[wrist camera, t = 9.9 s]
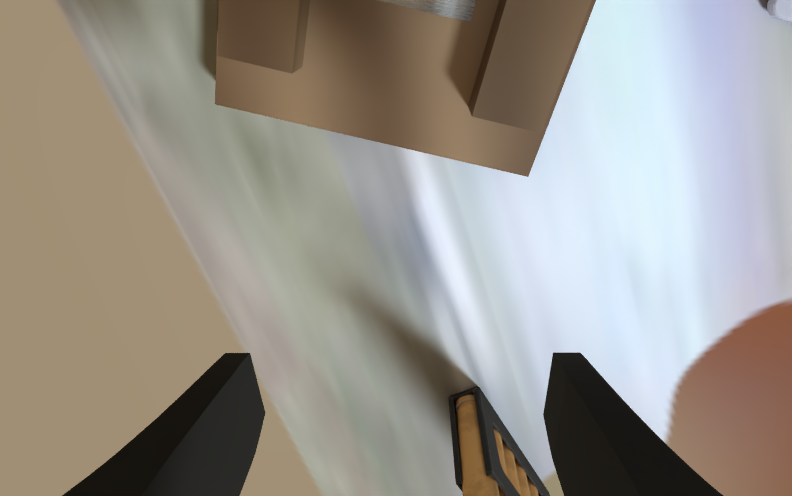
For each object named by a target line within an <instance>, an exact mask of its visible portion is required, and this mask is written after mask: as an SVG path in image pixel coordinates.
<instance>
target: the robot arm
mask: <svg viewBox="0 0 792 496" xmlns="http://www.w3.org/2000/svg"><path fill="white" fill-rule="evenodd" d="M767 11H768V13H769V15H771V16H772V17H774V18H778V19H781V20H785V21H789V22H792V0H769V1H768V4H767ZM543 415H544V420H545V425H546V431H547V436H548V441H549V445H550V450H551V455H552V459H553V462H554V465H555V468H556V471H557V475H558V478H559V481H560V483H561V487H562V490H563V493H564V496H723V495H722V494H720V493H719V492H718V491H717V490H716V489H714V488H713V487H712V486H711V485H710V484H708V483H707V482H706V481H705V480H704V479H703V478H702V477H701V476H699V475H698V474H697V473H696V472H695V471H694V470H693V469H691V467H689V466H688V465H687V464H686V463H685V462H684V461H683V460H682V459H681V458H680V457H679V456H678V455H677V454H676V453H675V452H674V451H672V449H670V448H669V447H668V446H667V445H666V444H665V443H664V442H663V441H662V440H661V439H660V438H659V437H658V436H657V435H656V434H655V433H654V432H653V431H652V430H651V429H650V428H649V427H648V426H647V425H646V424H645V422H644V421H643V420H642V419H641V418H640V417H639V416H638V415H637V414H636V413H635V412H634V411H633V410H632V409H631V408H630V407H629V406H628V405H627V404H626V403H625V402H624V401H623V399H622V398H621V397H620V396H619V395H618V394H617V393H616V392H615V391H614V390H613V388H612V387H611V386H610V385H609V384H608V383H607V382H606V381H605V380H604V378H603V377H602V376H601V375H600V374H599V373H598V372H597V371H596V369H595V368H594V367H593V366H592V365H591V364H590V363H589V362H588V360H587V359H586V358H585V357H584V356H583V355H582V354H581V353H553V358H552V364H551V370H550V377H549V383H548V389H547V395H546V402H545V408H544V414H543ZM264 416H265V410H264V406H263V402H262V399H261V394H260V390H259V387H258V383H257V379H256V375H255V371H254V367H253V363H252V359H251V355H250V353H225V354H224V355H223V356H222V357H221V358H220V359H219V360H218V361H216V363H214V364H213V365H212V366H211V367H210V368H209V369H208V370H207V371H206V372H205V373H204V374H203V375H202V376H201V377H200V378H199V379H198V380H197V381H196V382H195V383H194V384H193V385H192V386H191V387H190V388H189V389H187V390H186V391H185V392H184V393H183V394H182V395H181V396H180V397H179V398H178V399H177V400H176V401H175V402H174V403H173V404H172V405H170V406H169V407H168V408H167V409H166V410H165V411H164V412H163V413H162V414H161V415H160V416H159V417H158V418H157V419H155V420H154V421H153V422H152V423H151V424H150V425H149V426H148V427H146V428H145V429H144V430H143V431H142V432H141V433H139V434H138V435H137V436H136V437H135V438H134V439H133V440H131V441H130V442H129V443H128V444H127V445H126V446H124V447H123V448H122V449H121V450H120V451H119V452H118V453H116V455H114V456H113V457H112V458H110V459H109V460H108V461H107V462H106V463H104V464H103V465H102V466H100V467H99V468H98V469H97V470H95V471H94V472H93V473H92V474H90V475H89V476H88V477H86V478H85V479H84V480H82V481H81V482H80V483H79V484H77V485H76V486H75V487H73V488H72V489H71V490H70V491H68V492H67V493H65V494H64V495H63V496H239V495H240V493H241V490H242V487H243V485H244V482H245V479H246V477H247V474H248V472H249V469H250V466H251V464H252V461H253V458H254V455H255V452H256V448H257V444H258V441H259V437H260V433H261V429H262V424H263V420H264Z"/></svg>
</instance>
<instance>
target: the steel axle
mask: <svg viewBox="0 0 792 496" xmlns="http://www.w3.org/2000/svg"><path fill="white" fill-rule="evenodd" d="M379 1H383V2H387V3H391V4H395V5H399V6H403V7H407V8H411V9H415V10H419V11H423V12H428V13H432V14H436V15H441V16H445V17H450V18H454V19H459V20H465V21H471V17H472V14H473V10H474V6H475V3H476V0H379Z"/></svg>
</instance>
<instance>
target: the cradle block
mask: <svg viewBox="0 0 792 496" xmlns="http://www.w3.org/2000/svg"><path fill="white" fill-rule="evenodd" d="M595 1H596V0H476V3H475V6H474V10H473V14H472V17H471V21H465V20H459V19H454V18H450V17H445V16H441V15H436V14H432V13H428V12H423V11H419V10H415V9H411V8H407V7H403V6H399V5H395V4H391V3H387V2H383V1H379V0H218V15H217V53H216V90H215V104H216V105H221V106H225V107H229V108H234V109H238V110H242V111H247V112H251V113H255V114H260V115H264V116H268V117H273V118H277V119H281V120H285V121H290V122H294V123H298V124H303V125H307V126H311V127H316V128H320V129H324V130H329V131H333V132H337V133H342V134H346V135H350V136H355V137H359V138H363V139H368V140H372V141H376V142H381V143H385V144H389V145H393V146H398V147H402V148H406V149H411V150H415V151H419V152H424V153H428V154H432V155H437V156H441V157H445V158H450V159H454V160H458V161H463V162H467V163H471V164H476V165H480V166H484V167H488V168H493V169H497V170H501V171H506V172H510V173H514V174H519V175H523V176H527V177H528V176H529V173H530V170H531V168H532V165H533V163H534V160H535V157H536V155H537V152H538V150H539V147H540V144H541V142H542V139H543V137H544V134H545V131H546V129H547V126H548V124H549V121H550V118H551V116H552V113H553V111H554V108H555V105H556V103H557V100H558V98H559V95H560V92H561V90H562V87H563V85H564V82H565V79H566V77H567V74H568V72H569V69H570V66H571V64H572V61H573V59H574V56H575V53H576V51H577V48H578V46H579V43H580V40H581V38H582V35H583V33H584V30H585V27H586V25H587V22H588V20H589V17H590V14H591V12H592V9H593V6H594V4H595Z"/></svg>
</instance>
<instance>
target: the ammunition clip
mask: <svg viewBox="0 0 792 496" xmlns="http://www.w3.org/2000/svg"><path fill="white" fill-rule="evenodd" d="M449 407H450V419H451V431H452V443H453V455H454V466H455V478H456V484H457V485H458V487H459V488H460V489H461V490H462V492H463V496H550V495H549V492H548V490H547V489H546V487H545V486H544V484H543V483H542V481H541V480H540V478H539V477H538V475H537V474H536V472H535V471H534V469H533V468H532V466H531V465H530V463H529V462H528V460H527V459H526V457H525V456H524V454H523V453H522V451H521V450H520V448H519V447H518V445H517V444H516V442H515V441H514V439H513V438H512V436H511V435H510V433H509V431H508V430H507V428H506V427H505V425H504V424H503V422H502V421H501V419H500V418H499V416H498V415H497V413H496V412H495V410H494V409H493V407H492V406H491V404H490V403H489V401H488V400H487V398H486V397H485V395H484V394H483V392H482V391H481V389H480V388H474V389H471V390H468V391H466V392H463V393H460V394H457V395H455V396H452V397H449Z"/></svg>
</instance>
